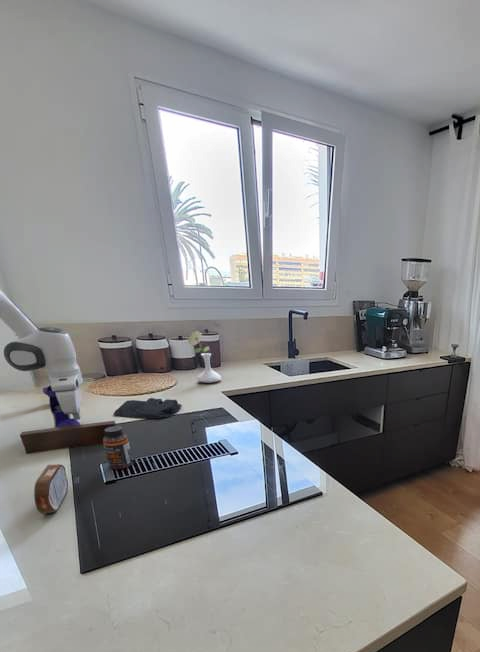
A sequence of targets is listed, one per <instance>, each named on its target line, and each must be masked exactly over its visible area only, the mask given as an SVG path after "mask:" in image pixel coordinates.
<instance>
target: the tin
mask: <svg viewBox="0 0 480 652" xmlns="http://www.w3.org/2000/svg"><path fill="white" fill-rule="evenodd" d="M33 489H34V490H33V497H34V504H35V507H36V511H38V513H39V514H42V515H43V514H48V513H49V514H51V513H55V512H57V511H58V510H59V509H60V507H61V505H62V503H63V501H64V500H65V497H66V496H67V494H68V489H69V481H68V477H67V473H66V468H65V466H64V465H63V464H60V463H59V464H47V465H46V466H45V468H44V469H43V471H42V473H40V475H39V476H38V477H37V479H36V481H35V483H34V488H33Z"/></svg>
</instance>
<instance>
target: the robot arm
mask: <svg viewBox="0 0 480 652" xmlns="http://www.w3.org/2000/svg"><path fill="white" fill-rule="evenodd" d="M0 320H1V321H2V322H3V323H4V324H6V326H7V327H8V328H9V329H10V330H11V331H12V333H14V334H15V335H16V336H17V337H18V338H19V339H15V340H13V341H11V342H9V343H7V344H6V345H5V346H4V348H3V357H4V359H5V361H6V363H8V365H9V366H11V367H12V368H13V369H15V370H17V371H21V372H32V371H35V370H39V369H44V370H45V371H46V374H47V377H48V379H49V384H50V385H51V388H52V391H55V393H56V396H57V399H58V402H59V404H60V407H61V409H62V411H63V413H64V414H70V415H72V417H73V418H74V419H76V420H77V421H79V420H81V417H82V415H81V411H80V405H81V402H82V399H83V394H82V393H83V392H82V391H81V385H82V384H84V378H83V375H82V371H81V368H80V365H79V364H78V362H77V353H76V349H75V347H74V343H73V341H72V338H71V336H70V334H69V333H68V332H67V331H66V330H64V329H61V328H58V327H52V326H51V327H50V326H48V327H47V326H44V327H39V326H37V324H36V323H35V322H33V320H32V319H31V318H30V317H29V316H28V315H27V314H26V313H25V312H24V311H23V310H22V309H21V308H20V307H19V306H18V305H17V304H16V303H15V302H14V300H13V299H11V298H10V296H8V295H7V294H6V293H5V292H4V291H2V289H0Z"/></svg>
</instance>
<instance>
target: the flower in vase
mask: <svg viewBox="0 0 480 652" xmlns="http://www.w3.org/2000/svg"><path fill="white" fill-rule="evenodd" d="M202 339H203V333H202V332H200V331H199V330H196V331H193V332H192V333H191V335H189V338H188V340H187V342H188V344H189V345H191V346H196V345H199V347H197V348H195V349H194V350H193V353H200V352H201V351H202V352H203V353H200V356H201V357H202V359H203V361H204V366H205V368H204V370H203V371H202V372H201V373H200V374H199V375H198V376H197V381H198V382H200V383H205V384H206V383H207V384H211V383H217V382H219V381H221V380H222V376H221V375H220V374H219V373H217V372H216V371H215V370H213V369H212V367H211V356H212V353H210V352H208V351H210V345H208V346H206V347H204V348H202V345H201V344H200V342H201V341H202Z"/></svg>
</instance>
